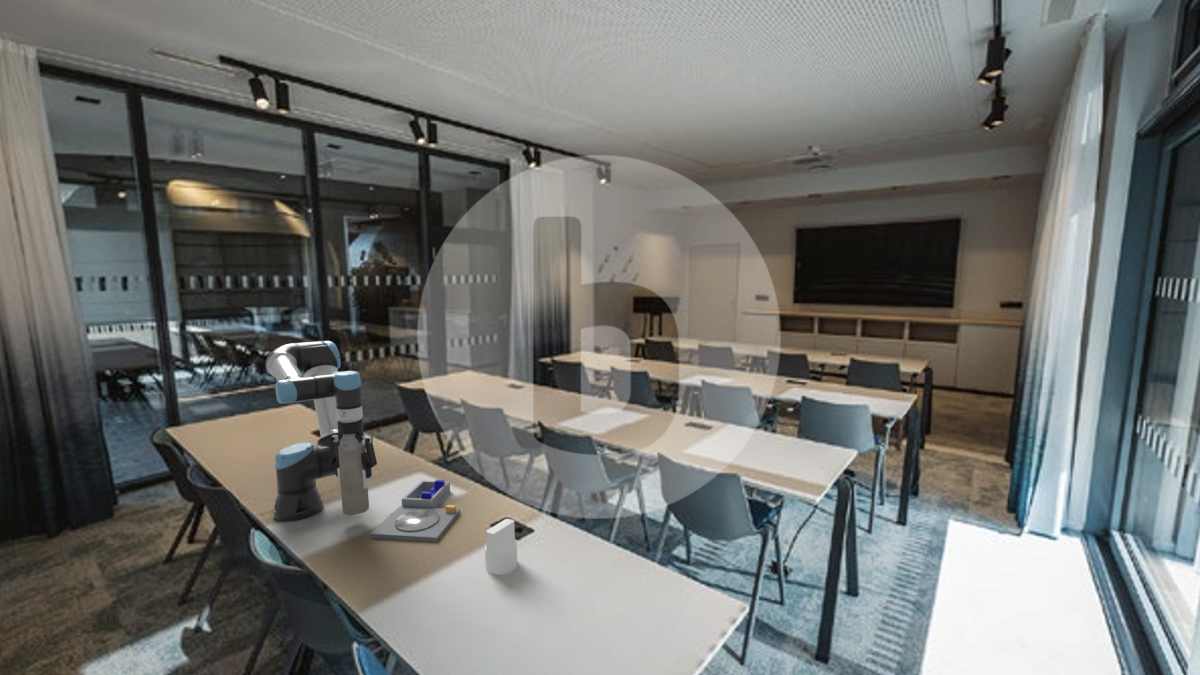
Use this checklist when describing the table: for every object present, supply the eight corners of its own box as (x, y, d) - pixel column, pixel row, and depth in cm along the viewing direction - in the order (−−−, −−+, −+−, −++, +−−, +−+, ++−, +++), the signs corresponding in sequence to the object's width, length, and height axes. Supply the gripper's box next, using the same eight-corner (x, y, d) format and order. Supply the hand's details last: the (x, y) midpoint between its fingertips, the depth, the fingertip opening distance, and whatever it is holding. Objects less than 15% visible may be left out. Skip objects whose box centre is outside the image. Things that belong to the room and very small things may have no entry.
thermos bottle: (357, 502, 175) (352, 423, 171) (374, 507, 172) (369, 426, 168) (337, 512, 168) (331, 430, 164) (354, 517, 165) (348, 433, 161)
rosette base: (370, 538, 162) (369, 527, 162) (400, 510, 181) (399, 500, 180) (437, 542, 160) (436, 531, 159) (460, 513, 178) (459, 503, 178)
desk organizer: (402, 509, 181) (401, 498, 181) (422, 490, 197) (422, 480, 196) (431, 511, 180) (431, 500, 179) (450, 491, 196) (449, 481, 195)
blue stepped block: (433, 494, 194) (432, 479, 193) (444, 495, 193) (444, 479, 193) (417, 508, 182) (417, 492, 181) (429, 509, 182) (429, 493, 181)
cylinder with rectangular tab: (502, 578, 141) (501, 537, 139) (478, 568, 146) (477, 528, 144) (523, 562, 148) (522, 523, 147) (500, 553, 153) (499, 515, 152)
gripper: (312, 421, 163) (317, 489, 166) (374, 424, 161) (378, 492, 164) (327, 414, 170) (332, 479, 174) (386, 417, 168) (390, 483, 171)
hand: (354, 486), depth 169 cm, fingers closed on thermos bottle, 8 cm apart
